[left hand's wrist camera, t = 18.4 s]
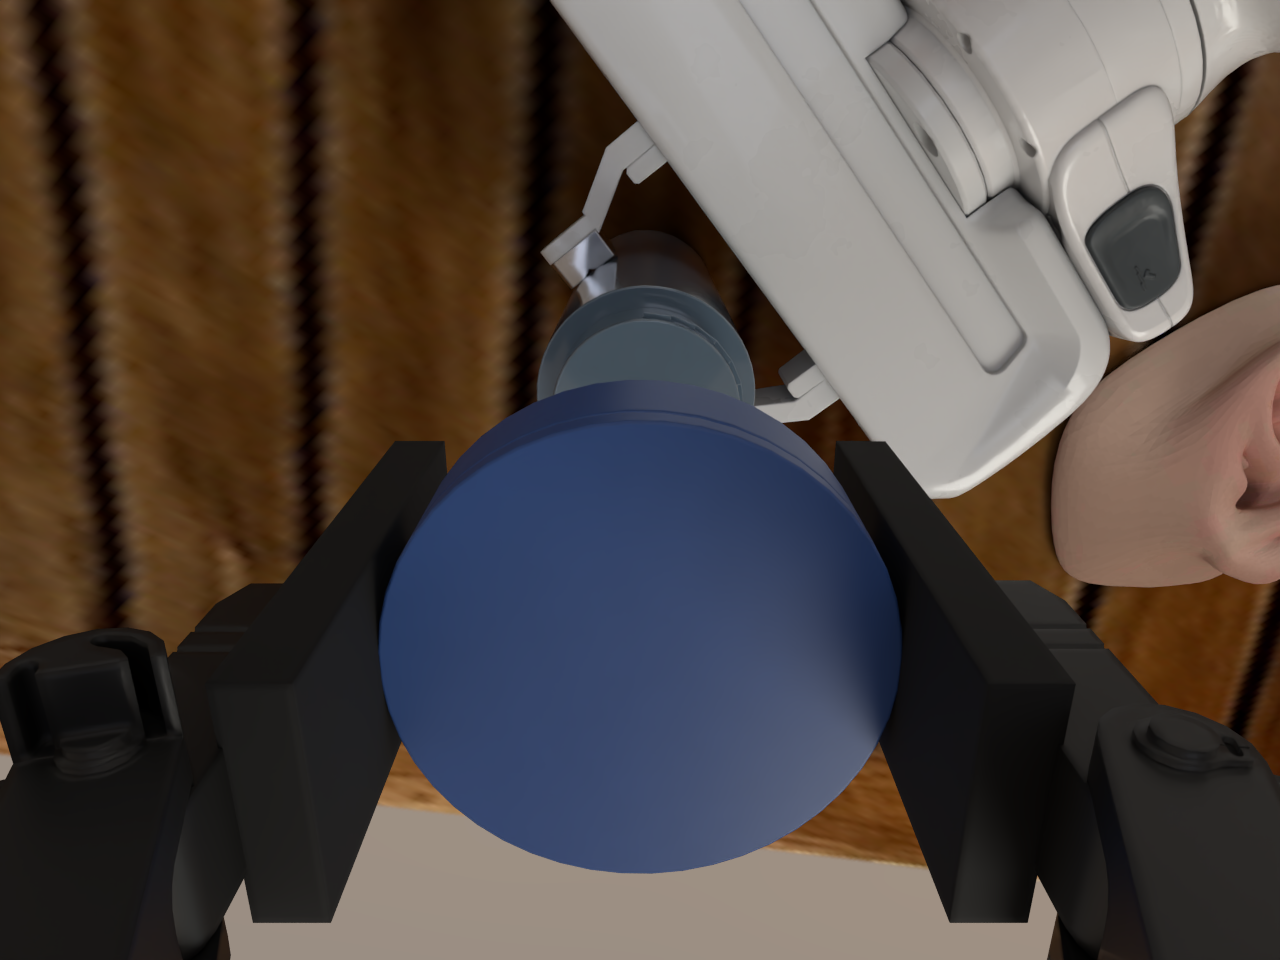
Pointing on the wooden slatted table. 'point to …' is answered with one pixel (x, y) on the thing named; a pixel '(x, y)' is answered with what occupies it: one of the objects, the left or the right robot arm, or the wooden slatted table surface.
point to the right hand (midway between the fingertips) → (624, 354)
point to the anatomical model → (1178, 458)
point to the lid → (640, 631)
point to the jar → (647, 324)
